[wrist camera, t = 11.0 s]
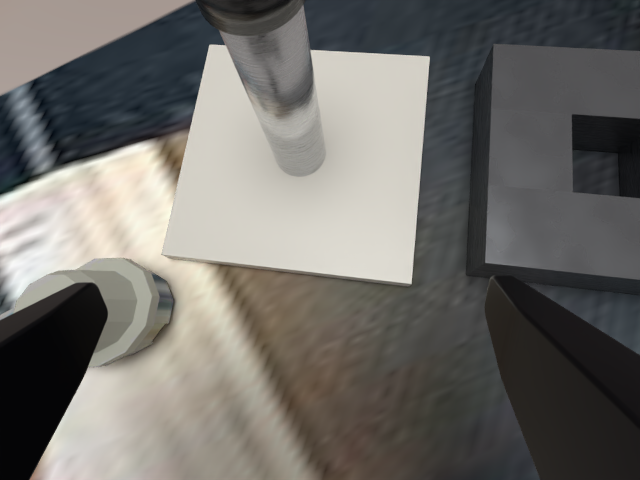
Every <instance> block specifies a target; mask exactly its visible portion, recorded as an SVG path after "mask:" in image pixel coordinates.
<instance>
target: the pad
mask: <svg viewBox="0 0 640 480" xmlns="http://www.w3.org/2000/svg"><path fill="white" fill-rule="evenodd" d="M310 52H311V58H312V65H313V71H314V77H315V84H316V90H317V96H318V103H319V109H320V116H321V122H322V128H323V135H324V141H325V147H326V156H325V160H324V162H323V164H322V165H321V167H320V168H319V169H318V170H317V171H315V172H314V173H312V174H310V175H307V176H301V177H297V176H292V175H289V174H287V173H285V172H284V171H283V170H282V169H281V168H280V167H279V166H278V164H277V162H276V159H275V157H274V155H273V153H272V150H271V148H270V146H269V143H268V141H267V139H266V137H265V134H264V132H263V130H262V127H261V125H260V123H259V120H258V118H257V116H256V114H255V111H254V109H253V107H252V104H251V102H250V100H249V98H248V95H247V93H246V91H245V88H244V86H243V84H242V81H241V79H240V77H239V75H238V72H237V70H236V68H235V65H234V63H233V61H232V59H231V56H230V54H229V52H228V49H227V47H226V46H225V45H210V46H209V50H208V54H207V59H206V63H205V67H204V72H203V76H202V80H201V85H200V89H199V93H198V98H197V102H196V106H195V111H194V115H193V119H192V124H191V128H190V132H189V137H188V141H187V145H186V150H185V154H184V159H183V163H182V167H181V172H180V176H179V180H178V185H177V189H176V193H175V198H174V202H173V206H172V211H171V215H170V219H169V224H168V228H167V232H166V237H165V241H164V245H163V250H162V254H161V255H164V256H166V257H168V258H172V259H181V260H189V261H198V262H206V263H214V264H223V265H231V266H240V267H248V268H257V269H265V270H273V271H282V272H290V273H299V274H307V275H315V276H324V277H332V278H341V279H349V280H357V281H366V282H374V283H383V284H391V285H399V286H408V287H409V286H410V285H411V284H412V271H413V259H414V246H415V234H416V222H417V209H418V197H419V184H420V172H421V160H422V147H423V135H424V122H425V110H426V97H427V85H428V73H429V60H430V57H428V56H409V55H391V54H372V53H354V52H336V51H317V50H310Z"/></svg>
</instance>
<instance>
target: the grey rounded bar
mask: <svg viewBox="0 0 640 480" xmlns="http://www.w3.org/2000/svg"><path fill="white" fill-rule="evenodd" d="M78 282H93V283H95V284H96V285H97V286H98V288H99V290H100V292H101V295H102V297H103V299H104V302H105V304H106V306H107V309H108V318H107V321H106V324H105V326H104V329H103V331H102V334H101V336H100V339H99V341H98V344H97V346H96V349H95V351H94V354H93V356H92V359H91V361H90V363H89V366H88V367H100V366H106V365H109V364H110V363H112V362H114V361H116V360H118V359H120V358H122V357H124V356H126V355H132V354H134V353H136V352H138V351H140V350H142V349H144V348H145V347H147V346H149V345H151V344H153V341H152V340H153V339H154V338H155V336H156V335H157V334H158V332H159V331H160V330H161V329H162V327H163V326H164V325H165V323H169V320H170V315H171V310H172V306H173V301H174V300H173V297H172V295H171V292H170V289H169V287H168V284H167V281H165V280H164V279H162V278H161V277H159V276H158V275H156V274H154V273H153V272H151V271H149V270H146V269H145V268H143V267H141V266H140V265H138V264H137V263H135V262H133V261H132V260H130V259H125V258H104V259H94V260H92V261H90V262H88V263H87V264H85V265H83V266H81V267H80V268H78V269H76V270H65V271H56V272H54V273H51V274H48V275H46V276H44V277H42V278H41V279H39V280H37V281H35V282H33V283H32V284H30V285H29V286H28V287H27V288H26V290H25V291H24V292H23V293H22V295H21V296H20V297H19V299H18V300H17V301H16V305H15V308H13V309H11V310H9V311H7V312H5V313H3V314H1V315H0V320H1V319H3V318H5V317H7V316H9V315H11V314H13V313H15V312H17V311H19V310H21V309H23V308H26V307H28V306H30V305H32V304H34V303H36V302H38V301H40V300H42V299H44V298H46V297H48V296H50V295H52V294H54V293H56V292H58V291H60V290H62V289H64V288H66V287H68V286H70V285H72V284H74V283H78Z"/></svg>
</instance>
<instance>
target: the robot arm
mask: <svg viewBox="0 0 640 480" xmlns="http://www.w3.org/2000/svg"><path fill="white" fill-rule="evenodd" d="M485 316H486V320H487V324H488V328H489V332H490V336H491V340H492V344H493V348H494V351H495V355H496V359H497V363H498V367H499V371H500V374H501V378H502V381H503V384H504V386H505V389H506V392H507V394H508V397H509V399H510V402H511V405H512V407H513V410H514V412H515V415H516V418H517V420H518V423H519V425H520V428H521V431H522V433H523V436H524V438H525V441H526V444H527V446H528V449H529V451H530V454H531V456H532V459H533V462H534V464H535V467H536V469H537V472H538V475H539V477H540V480H640V355H639V354H637V353H636V352H634V351H632V350H631V349H629V348H628V347H626V346H624V345H623V344H621V343H620V342H618V341H616V340H615V339H613V338H612V337H610V336H608V335H607V334H605V333H604V332H602V331H600V330H599V329H597V328H596V327H594V326H592V325H591V324H589V323H588V322H586V321H584V320H583V319H581V318H580V317H578V316H576V315H575V314H573V313H572V312H570V311H568V310H567V309H565V308H564V307H562V306H560V305H559V304H557V303H556V302H554V301H552V300H551V299H549V298H548V297H546V296H544V295H543V294H541V293H540V292H538V291H536V290H535V289H533V288H532V287H530V286H528V285H527V284H525V283H524V282H522V281H520V280H519V279H517V278H516V277H514V276H512V275H493V276H492V277H491V278H490V280H489V285H488V290H487V296H486V302H485ZM107 318H108V309H107V306H106V304H105V302H104V299H103V297H102V295H101V292H100V290H99V288H98V286H97V285H96V284H95V283H93V282H78V283H74V284H72V285H70V286H68V287H66V288H64V289H62V290H60V291H58V292H56V293H54V294H52V295H50V296H48V297H46V298H44V299H42V300H40V301H38V302H36V303H34V304H32V305H30V306H28V307H26V308H23V309H21V310H19V311H17V312H15V313H13V314H11V315H9V316H7V317H5V318H3V319H1V320H0V480H30V478H31V476H32V474H33V472H34V470H35V469H36V467H37V465H38V463H39V461H40V459H41V457H42V455H43V453H44V451H45V450H46V448H47V446H48V444H49V442H50V440H51V438H52V436H53V434H54V433H55V431H56V429H57V427H58V425H59V423H60V421H61V419H62V417H63V416H64V414H65V412H66V410H67V408H68V406H69V404H70V402H71V400H72V399H73V397H74V395H75V393H76V391H77V389H78V387H79V385H80V383H81V381H82V379H83V377H84V375H85V373H86V371H87V368H88V366H89V363H90V361H91V359H92V356H93V354H94V351H95V349H96V346H97V344H98V341H99V339H100V336H101V334H102V331H103V329H104V326H105V324H106V321H107Z"/></svg>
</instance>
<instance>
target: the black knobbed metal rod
mask: <svg viewBox="0 0 640 480" xmlns="http://www.w3.org/2000/svg"><path fill="white" fill-rule="evenodd" d="M304 2H305V0H196V3H197V5H198V7H199V9H200V11H201V13H202V15H203V16H204V18H205V19H206V20H207V21H208V22H209V23H210V24H211V25H212V26H214V27H215V28H216V29H218V30H219V31H220V33H221V36H222V38H223V40H224V42H225V45H226V47H227V49H228V52H229V54H230V56H231V59H232V61H233V63H234V65H235V68H236V70H237V72H238V75H239V77H240V79H241V81H242V84H243V86H244V88H245V91H246V93H247V95H248V98H249V100H250V102H251V104H252V107H253V109H254V111H255V114H256V116H257V118H258V120H259V123H260V125H261V127H262V130H263V132H264V134H265V137H266V139H267V141H268V143H269V146H270V148H271V150H272V153H273V155H274V157H275V159H276V162H277V164H278V166H279V167H280V168H281V169H282V170H283V171H284V172H285V173H287V174H289V175H292V176H297V177H301V176H307V175H310V174H312V173H314V172H315V171H317V170H318V169H319V168H320V167H321V165H322V164H323V162H324V160H325V156H326V147H325V141H324V135H323V128H322V122H321V116H320V109H319V103H318V96H317V90H316V84H315V77H314V71H313V65H312V58H311V52H310V45H309V39H308V33H307V26H306V20H305V13H304V7H303V4H304Z"/></svg>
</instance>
